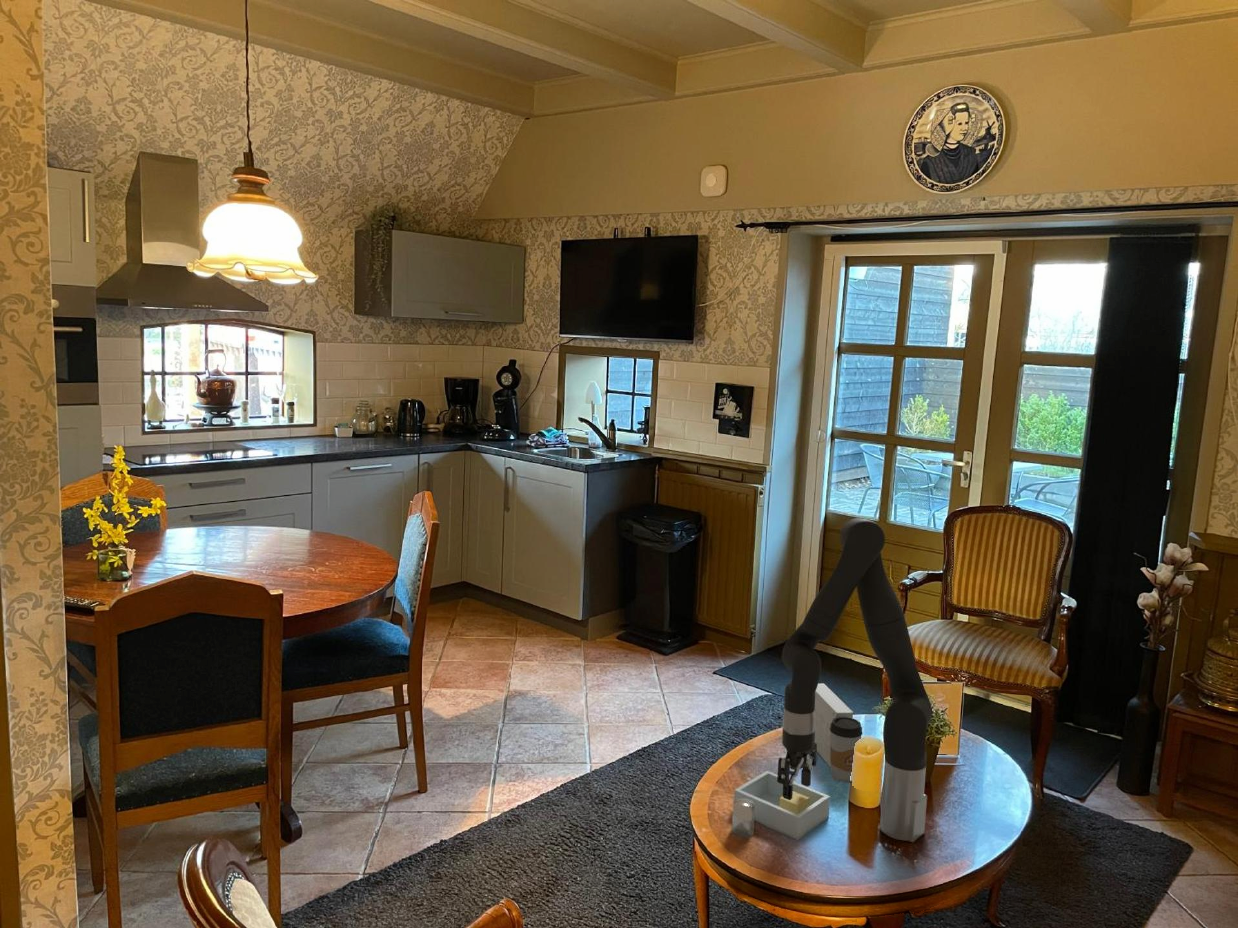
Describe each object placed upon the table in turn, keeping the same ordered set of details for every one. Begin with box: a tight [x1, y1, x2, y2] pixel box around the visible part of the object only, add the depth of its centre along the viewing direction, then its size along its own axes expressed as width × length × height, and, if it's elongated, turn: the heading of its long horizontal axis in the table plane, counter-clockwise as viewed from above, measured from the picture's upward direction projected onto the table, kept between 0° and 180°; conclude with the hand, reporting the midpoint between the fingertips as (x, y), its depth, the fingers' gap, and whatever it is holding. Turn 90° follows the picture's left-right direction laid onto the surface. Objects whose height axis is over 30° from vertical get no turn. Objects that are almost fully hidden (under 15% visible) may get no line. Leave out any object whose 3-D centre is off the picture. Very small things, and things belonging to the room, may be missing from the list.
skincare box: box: [815, 683, 854, 768], centre depth 258 cm, size 21×5×16 cm, turn 9°
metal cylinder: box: [731, 798, 755, 839], centre depth 216 cm, size 5×5×7 cm
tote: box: [733, 770, 831, 841], centre depth 224 cm, size 18×14×6 cm
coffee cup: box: [830, 717, 863, 783], centre depth 243 cm, size 8×8×15 cm
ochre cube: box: [779, 791, 809, 814], centre depth 222 cm, size 5×5×5 cm
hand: (796, 791), depth 220 cm, fingers open, 8 cm apart
